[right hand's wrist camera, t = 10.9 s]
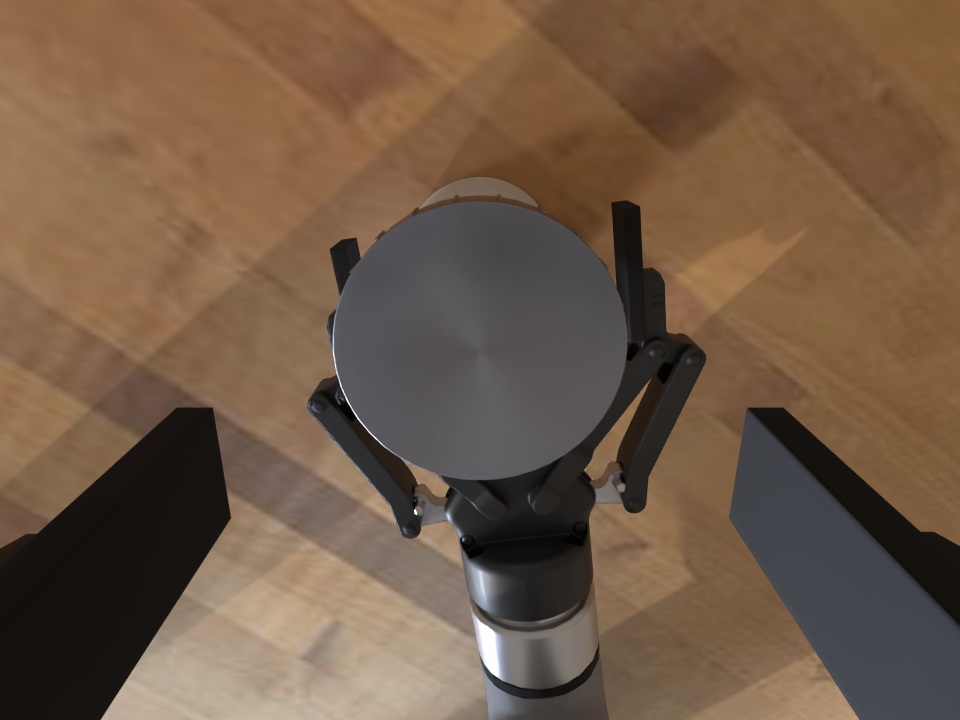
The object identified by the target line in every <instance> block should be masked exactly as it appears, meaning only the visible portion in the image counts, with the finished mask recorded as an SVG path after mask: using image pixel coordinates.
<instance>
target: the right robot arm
mask: <svg viewBox="0 0 960 720" xmlns="http://www.w3.org/2000/svg"><path fill="white" fill-rule="evenodd" d="M230 519H231V515H230V509H229V503H228V497H227V491H226V485H225V479H224V473H223V467H222V461H221V454H220V448H219V442H218V436H217V430H216V424H215V418H214V412H213V408H176V409H175V410H174V411H172V412H171V413H170V414H169V415H168V416H167V417H166V418H165V419H164V420H163V421H161V422H160V423H159V424H158V425H157V426H156V427H155V428H154V429H153V430H151V431H150V432H149V433H148V434H147V435H146V436H145V437H144V438H143V439H142V440H140V441H139V442H138V443H137V444H136V445H135V446H134V447H133V448H132V449H130V450H129V451H128V452H127V453H126V454H125V455H124V456H123V457H122V458H121V459H119V460H118V461H117V462H116V463H115V464H114V465H113V466H112V467H111V468H109V469H108V470H107V471H106V472H105V473H104V474H103V475H102V476H101V477H100V478H98V479H97V480H96V481H95V482H94V483H93V484H92V485H91V486H90V487H88V488H87V489H86V490H85V491H84V492H83V493H82V494H81V495H80V496H79V497H77V498H76V499H75V500H74V501H73V502H72V503H71V504H70V505H69V506H68V507H66V508H65V509H64V510H63V511H62V512H61V513H60V514H59V515H58V516H56V517H55V518H54V519H53V520H52V521H51V522H50V523H49V524H48V525H47V526H45V527H44V528H43V529H42V530H41V531H40V532H39V533H38V534H26V535H24V536H22V537H20V538H19V539H17V540H15V541H13V542H11V543H10V544H8V545H6V546H4V547H3V548H1V549H0V720H101V718H102V717H103V715H104V714H105V712H106V711H107V709H108V707H109V706H110V704H111V703H112V701H113V700H114V698H115V697H116V695H117V694H118V692H119V690H120V689H121V687H122V686H123V684H124V683H125V681H126V680H127V678H128V677H129V675H130V673H131V672H132V670H133V669H134V667H135V666H136V664H137V663H138V661H139V660H140V658H141V656H142V655H143V653H144V652H145V650H146V649H147V647H148V646H149V644H150V643H151V641H152V639H153V638H154V636H155V635H156V633H157V632H158V630H159V629H160V627H161V626H162V624H163V622H164V621H165V619H166V618H167V616H168V615H169V613H170V612H171V610H172V609H173V607H174V605H175V604H176V602H177V601H178V599H179V598H180V596H181V595H182V593H183V592H184V590H185V588H186V587H187V585H188V584H189V582H190V581H191V579H192V578H193V576H194V575H195V573H196V571H197V570H198V568H199V567H200V565H201V564H202V562H203V561H204V559H205V558H206V556H207V554H208V553H209V551H210V550H211V548H212V547H213V545H214V544H215V542H216V540H217V539H218V537H219V536H220V534H221V533H222V531H223V530H224V528H225V527H226V525H227V523H228V522H229V520H230ZM729 519H730V520H731V522H732V523H733V525H734V527H735V528H736V530H737V531H738V533H739V534H740V536H741V537H742V539H743V540H744V542H745V544H746V545H747V547H748V548H749V550H750V551H751V553H752V554H753V556H754V558H755V559H756V561H757V562H758V564H759V565H760V567H761V568H762V570H763V571H764V573H765V575H766V576H767V578H768V579H769V581H770V582H771V584H772V585H773V587H774V588H775V590H776V592H777V593H778V595H779V596H780V598H781V599H782V601H783V602H784V604H785V605H786V607H787V609H788V610H789V612H790V613H791V615H792V616H793V618H794V619H795V621H796V622H797V624H798V626H799V627H800V629H801V630H802V632H803V633H804V635H805V636H806V638H807V639H808V641H809V643H810V644H811V646H812V647H813V649H814V650H815V652H816V653H817V655H818V656H819V658H820V660H821V661H822V663H823V664H824V666H825V667H826V669H827V670H828V672H829V673H830V675H831V677H832V678H833V680H834V681H835V683H836V684H837V686H838V687H839V689H840V690H841V692H842V694H843V695H844V697H845V698H846V700H847V701H848V703H849V704H850V706H851V707H852V709H853V711H854V712H855V714H856V715H857V717H858V718H859V720H960V546H958V545H957V544H955V543H953V542H951V541H949V540H948V539H946V538H944V537H942V536H940V535H939V534H937V533H935V532H920V531H919V530H918V529H917V528H916V527H915V526H913V525H912V524H911V523H910V522H909V521H908V520H907V519H906V518H905V517H904V516H902V515H901V514H900V513H899V512H898V511H897V510H896V509H895V508H894V507H892V506H891V505H890V504H889V503H888V502H887V501H886V500H885V499H884V498H883V497H881V496H880V495H879V494H878V493H877V492H876V491H875V490H874V489H873V488H872V487H870V486H869V485H868V484H867V483H866V482H865V481H864V480H863V479H862V478H860V477H859V476H858V475H857V474H856V473H855V472H854V471H853V470H852V469H851V468H849V467H848V466H847V465H846V464H845V463H844V462H843V461H842V460H841V459H839V458H838V457H837V456H836V455H835V454H834V453H833V452H832V451H831V450H830V449H828V448H827V447H826V446H825V445H824V444H823V443H822V442H821V441H820V440H818V439H817V438H816V437H815V436H814V435H813V434H812V433H811V432H810V431H809V430H807V429H806V428H805V427H804V426H803V425H802V424H801V423H800V422H799V421H797V420H796V419H795V418H794V417H793V416H792V415H791V414H790V413H789V412H788V411H786V410H785V409H784V408H747V412H746V418H745V424H744V430H743V436H742V442H741V448H740V454H739V461H738V467H737V473H736V479H735V485H734V491H733V497H732V503H731V509H730V515H729Z"/></svg>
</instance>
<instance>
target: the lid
mask: <svg viewBox="0 0 960 720" xmlns="http://www.w3.org/2000/svg"><path fill="white" fill-rule="evenodd" d="M581 236H582V235H581V234H580V233H579V232H578V231H577V230H576V229H575V228H574V227H573V228H572V229H571V228H570V227H569V226H567V225H566V224H564V223H563V222H562V221H560V220H559V219H557V218H556V217H554V216H553V215H551V214H549V213H547V212H545V210H544V209H543V208H542V207H541V206H539V205H538V207H536V206H533V205H530V204H527V203H524V202H521V201H518V200H514V199H509V198H504V197H501V194H497V196H484V195H476V196H462V197H459V196H458V195H455V196H454V198H451V199H447V200H442V201H439V202H436V203H433V204H431V205H428V206H425V207H423V208H421V209H419V208H418V207H417V208H415V209H414V210H413V211H412V212H411V214H409V215H407V216H406V217H404V218H403V219H401V220H400V221H399V222H397V223H396V224H394V225H393V226H392V227H391V228H389V229H388V230H387V231H386V232H385V231H384V230H383V231H382V232H381V233H380V234H379V235H378V236H377V237H376V238H375V239H376V240H377V241H376V242H375V243H374V244H373V245H372V246H371V247H370V248H369V249H368V251H367V252H366V253H365V254H364V256H363V257H362V258H361V259H360V260H359V262H358V263H357V264H356V265H355V266H354V267H353V268H352V269H351V270H350V272H349V273H351V274H350V276H349V278H348V279H347V282H346V284H345V286H344V289H343V291H342V293H341V296H340V298H339V302H338V306H337V308H336V314H335V319H334V328H333V355H334V361H335V367H336V372H337V375H338V379H339V382H340V385H341V388H342V390H343V393H344V395H345V397H346V399H347V401H348V403H349V405H350V407H351V408H352V410H353V412H354V413H355V415H356V416H357V418H358V419H359V421H360V422H361V423H362V424H363V426H364V427H365V428H366V429H367V430H368V432H369V433H370V434H371V435H372V436H373V437H374V438H375V439H376V440H378V441H379V442H380V443H381V444H382V445H383V446H384V447H386V448H387V449H388V450H390V451H391V452H392V453H394V454H395V455H396V456H398V457H400V458H402V459H403V460H405V461H407V462H409V463H410V464H412V465H415V466H417V467H419V468H422V469H424V470H426V471H429V472H432V473H436V474H439V475H443V476H447V477H453V478H459V479H468V480H492V479H502V478H507V477H513V476H518V475H521V474H524V473H528V472H531V471H534V470H536V469H539V468H541V467H543V466H546V465H548V464H550V463H552V462H553V461H555V460H557V459H559V458H560V457H562V456H564V455H565V454H567V453H568V452H569V451H571V450H572V449H573V448H575V447H576V446H577V445H579V444H580V443H581V442H582V441H583V440H584V439H585V438H586V437H587V436H588V435H589V434H590V433H591V432H592V431H593V430H594V428H595V427H596V426H597V425H598V423H599V422H600V421H601V420H602V418H603V417H604V415H605V414H606V412H607V410H608V409H609V407H610V405H611V404H612V402H613V400H614V397H615V395H616V393H617V391H618V388H619V386H620V383H621V379H622V376H623V373H624V369H625V362H626V356H627V326H626V318H625V312H624V309H623V307H624V305H623V303H622V301H621V298H620V295H619V293H618V290H617V288H616V286H615V283H614V281H613V279H612V277H611V276H610V274H609V272H608V271H607V269H609V268H608V267H607V265H606V264H605V263H604V262H603V261H602V260H601V259H600V258H598V256H597V255H596V254H595V253H594V252H593V250H592V249H591V248H590V247H589V246H588V245H587V244H586V243H585V242H584V241H583V240H582V238H580V237H581Z"/></svg>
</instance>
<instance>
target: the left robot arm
mask: <svg viewBox="0 0 960 720" xmlns="http://www.w3.org/2000/svg"><path fill="white" fill-rule="evenodd" d="M612 218H613V235H614V251H615V268H616V284H617V290H618V293H619V295H620V298H621V301H622V303H623V305H624V307H623V309H624V312H625V318H626V326H627V339H628V340H629V341H628V342H627V356H626V362H625V369H624V373H623V376H622V379H621V383H620V386H619V388H618V391H617V393H616V395H615V397H614V400H613V402H612V404H611V405H610V407H609V409H608V410H607V412H606V414H605V415H604V417H603V418H602V420H601V421H600V422H599V423H598V425H597V426H596V427H595V428H594V430H593V431H592V432H591V433H590V434H589V435H588V436H587V437H586V438H585V439H584V440H583V441H582V442H581V443H580V444H579V445H577V446H576V447H575V448H573V449H572V450H571V451H569V452H568V453H567V454H565V455H564V456H562V457H560V458H559V459H557V460H555V461H553V462H552V463H550V464H548V465H546V466H543V467H541V468H539V469H536V470H534V471H531V472H528V473H524V474H521V475H518V476H513V477H507V478H502V479H492V480H468V479H459V478H453V477H447V476H443V475H439V474H438V476H439V477H440V479H441V480H442V481H444V482H445V483H446V484H448V485H449V486H450V488H449V490H448V491H447V494H446V497H442V498H440V497H436V496H435V495H433V494H432V492H431V491H430V490H429V489H428V488H427V486H426V485H425V484H420V485H418V484H417V482H416V479H415V477H414V476H413V474H412V472H411V471H410V470H409V468H408V467H407V466H406V464H405V463H404V462H403V461H402V460H401V458H400V457H398V456H396V455H395V454H394V453H392V452H391V451H390V450H388V449H387V448H386V447H384V446H383V445H382V444H381V443H380V442H379V441H378V440H376V439H375V438H374V437H373V436H372V435H371V434H370V433H369V432H368V430H367V429H366V428H365V427H364V426H363V424H362V423H361V422H360V421H359V419H358V418H357V416H356V415H355V413H354V412H353V410H352V408H351V407H350V405H349V403H348V401H347V399H346V397H345V395H344V393H343V390H342V388H341V385H340V382H339V379H338V375H336V376H334V377H332V378H326V379H323V380H322V381H321V382H320V383H319V385H318V386H317V388H316V390H315V391H314V393H313V394H312V396H311V397H310V399H309V400H308V403H307V407H308V410H309V412H310V413H311V414H312V416H313V417H314V418H315V419H316V420H317V421H318V423H319V424H320V425H321V426H322V427H323V428H324V430H325V431H326V432H327V433H328V434H329V435H330V437H331V438H332V439H333V440H334V441H335V442H336V444H337V445H338V446H339V447H340V448H341V449H342V451H343V452H344V453H345V454H346V455H347V457H348V458H349V459H350V460H351V461H352V462H353V464H354V465H355V466H356V467H357V468H358V469H359V471H360V472H361V473H362V474H363V475H364V476H365V478H366V479H367V480H368V481H369V482H370V483H371V485H372V486H373V487H374V488H375V489H376V490H377V492H378V493H379V494H380V495H381V496H382V497H383V499H384V500H385V501H386V502H387V503H388V504H389V506H390V507H391V510H392V512H393V515H394V518H395V521H396V524H397V526H398V529H399V532H400V534H401V535H402V536H403V537H405V538H409V539H410V538H415V537H417V536H418V535H419V534H420V531H421V526H425V525H430V524H434V523H439V522H444V521H448V522H449V523H450V524H451V525H452V526H453V527H454V529H455V530H456V532H457V534H458V538H459V543H460V549H461V555H462V560H463V566H464V572H465V577H466V583H467V588H468V591H469V594H470V606H471V612H472V617H473V622H474V627H475V632H476V637H477V643H478V648H479V655H480V659H481V663H482V667H483V675H484V682H485V689H486V696H487V703H488V714H489V720H609V716H608V712H607V707H606V701H605V695H604V688H603V679H602V671H601V663H600V655H599V629H598V619H597V609H596V599H595V588H594V582H593V564H592V553H591V541H590V530H589V515H590V512H591V510H592V508H593V507H594V505H595V504H623V505H624V508H625V509H626V510H627V511H628V512H630V513H639V512H641V511H642V510H643V509H644V508H645V506H646V499H647V487H648V477H649V475H650V473H651V471H652V469H653V467H654V465H655V463H656V461H657V459H658V457H659V455H660V453H661V451H662V449H663V447H664V445H665V443H666V441H667V439H668V437H669V435H670V433H671V431H672V429H673V427H674V425H675V422H676V420H677V418H678V416H679V414H680V412H681V410H682V408H683V406H684V404H685V402H686V400H687V398H688V396H689V394H690V392H691V390H692V388H693V386H694V384H695V382H696V380H697V378H698V376H699V374H700V372H701V370H702V368H703V366H704V364H705V361H706V354H705V353H704V352H703V350H702V349H701V348H700V347H699V346H698V345H696V344H695V343H694V342H693V341H692V340H691V339H690V338H689V337H688V336H687V335H685V334H681V333H679V334H672V333H668V332H667V331H666V311H665V283H664V281H663V279H662V277H661V274H660V273H659V272H658V271H656V270H655V269H654V268H645V269H643V260H642V238H641V216H640V206H638V205H636V204H634V203H632V202H629V201H627V200H625V201H618V202H612ZM330 253H331V258H332V262H333V267H334V271H335V276H336V280H337V285H338V289H339V294H340V296H341V293H342V291H343V289H344V286H345V284H346V282H347V279H348V278H349V276H350V274H351V273H349V272H350V270H351V269H352V268H353V267H354V266H355V265H356V264H357V263H358V262H359V260H360V259H361V257H360V253H359V248H358V243H357V238H351V239H344V240H341V241H340V242H338V243H337V244H336V245H334V246H333V247H332V248H331V249H330ZM335 314H336V309H335V310H334V311H333V313H332V314H331V315H330V316H329V318H328V324H327V330H328V334H329V337H330V343H331V346H332V351H333V328H334V319H335ZM333 356H334V355H333ZM651 377H652V378H651ZM650 379H651V380H650ZM649 380H650V382H649V384H648V387H647V389H646V391H645V393H644V395H643V397H642V399H641V401H640V404H639V406H638V408H637V410H636V412H635V414H634V416H633V419H632V421H631V423H630V425H629V427H628V429H627V431H626V433H625V436H624V438H623V440H622V442H621V444H620V447H619V450H618V454H617V459H616V462H610V463H609V464H608V466H607V468H606V469H605V472H604V474H603V476H602V477H601V478H599V479H597V480H591V478H590V477H589V475H588V474H587V473H586V472H585V471H584V469H585V468H586V466H587V465H588V464H589V462H590V461H591V459H592V456H593V452H594V450H595V448H596V447H597V446H598V444H599V443H600V442H601V441H602V439H603V438H604V437H605V436H606V434H607V433H608V432H609V430H610V429H611V428H612V427H613V425H614V424H615V423H616V422H617V420H618V419H619V418H620V417H621V415H622V414H623V413H624V412H625V410H626V409H627V408H628V406H629V405H630V404H631V403H632V401H633V400H634V399H635V398H636V396H637V395H638V394H639V393H640V391H641V390H642V389H643V387H644V386H645V385H646V384H647V382H648V381H649Z"/></svg>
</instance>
